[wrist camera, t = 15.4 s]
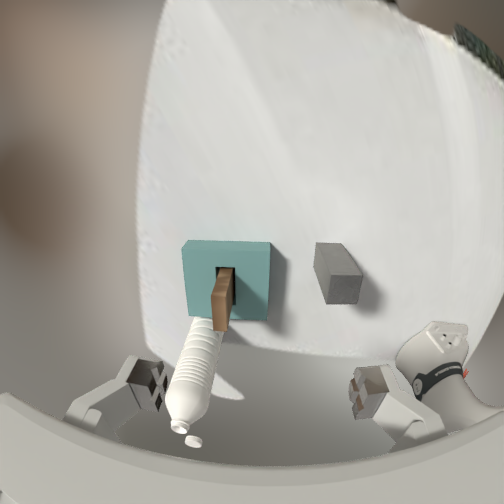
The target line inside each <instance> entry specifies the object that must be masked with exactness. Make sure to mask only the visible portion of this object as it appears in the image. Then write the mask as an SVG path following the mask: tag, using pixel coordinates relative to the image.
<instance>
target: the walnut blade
mask: <svg viewBox="0 0 504 504" xmlns="http://www.w3.org/2000/svg"><path fill="white" fill-rule="evenodd" d="M234 295H235V267H221V268H220V271H219V274H218V277H217V279H216V282H215V285H214V288H213V291H212V294H211V308H212V321H213V331H222V332H227V329H228V324H229V319H230V314H231V309H232V304H233V300H234Z"/></svg>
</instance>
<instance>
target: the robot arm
mask: <svg viewBox="0 0 504 504" xmlns="http://www.w3.org/2000/svg"><path fill="white" fill-rule="evenodd" d="M467 334H468V327H467V326H466V325H460V324H452V323H443V322H435V321H434V322H431V323H430V324H429V325H428V326H427V327H426V328H425V329H424V330H423V331H422V332H420V333H419V334H417V335H415V336H414V337H413V338H411V339H410V340H409V341H408V342H407V343H406V344H405V345H404V346H403V347H402V348H401V350H400V351H399V353H398V355H397V358H396V367H397V369H398V370H399V371H400V372H401V373H402V374H403V375H404V376H405V378H406V379H407V380H408V382H409V383H410V385H411V386H412V388H413V391H414V394H415V397H416V398H414V397H413V396H411V395H410V394H408V393H407V392H406V391H404V390H400V388H399V385H398V383H397V381H396V378H395V376H394V374H393V372H392V370H391V368H390V366H389V365H388V364H387V365H378V366H368V367H359V368H356V369H355V371H354V373H353V374H354V378H353V379H352V380H351V381H350V384H349V391H348V392H349V398H350V401H352V402H353V403H354V405H353V407H352V411H353V415H354V419H355V420H357V419H365V418H373V420H374V421H375V422H376V423H377V424H378V425H379V426H380V427H382V428H383V430H384V431H385V432H386V433H387V434H388V435H389V436H390V437H391V438H392V439H393V440H394V441H395V442H396V444H395V445H394V446H393V447H392V448H391V449H390V451H389V452H388V454H384V455H380V456H375V457H370V458H364V459H359V460H352V461H346V462H338V463H329V464H319V465H306V466H281V467H280V466H279V467H278V466H275V467H274V466H244V465H230V464H220V463H210V462H203V461H196V460H190V459H184V458H179V457H174V456H169V455H164V454H159V453H155V452H151V451H147V450H143V449H139V448H136V447H132V446H128V445H126V444H122V443H121V441H120V439H119V438H118V436H117V435H116V434H115V432H114V431H115V430H117V429H118V428H119V427H120V426H122V425H123V424H124V423H125V422H126V421H128V420H129V419H130V418H131V417H133V416H134V415H135V414H136V413H137V412H139V411H140V410H141V409H144V410H150V411H154V412H159V409H160V406H161V403H162V398H161V396H162V395H163V394H165V392H166V389H167V383H168V381H167V375H166V373H165V372H164V371H163V369H164V364H163V361H159V360H153V359H148V358H143V357H137V356H133V355H130V356H128V357H127V359H126V361H125V363H124V364H123V366H122V368H121V370H120V372H119V374H118V375H117V377H116V379H115V380H113V379H112V380H110V381H108V382H106V383H105V384H103V385H101V386H100V387H98V388H96V389H94V390H92V391H90V392H89V393H87V394H85V395H83V396H81V397H80V398H78V399H76V400H74V401H73V403H72V405H71V406H70V408H69V409H68V411H67V413H66V415H65V417H64V418H63V420H60V419H58V418H56V417H54V416H52V415H50V414H48V413H46V412H44V411H42V410H40V409H38V408H37V407H35V406H33V405H31V404H30V403H28V402H26V401H24V400H23V399H21V398H19V397H18V396H16V395H14V394H12V393H9V392H7V393H3V394H1V395H0V504H504V406H491V405H487V404H485V403H483V402H481V401H480V400H479V399H478V398H477V397H476V396H475V395H474V394H473V392H472V391H471V390H470V388H469V387H468V385H467V383H466V382H465V380H464V378H465V377H466V375H467V373H468V372H467V373H466V371H467V369H466V370H465V371H464V373H463V370H462V366H463V363H464V361H465V359H466V356H467V354H468V350H469V346H468V343H467V341H466V338H467ZM465 373H466V374H465ZM458 430H460V431H458ZM454 431H458V432H455V433H453V434H450V435H448V434H447V433H450V432H454Z"/></svg>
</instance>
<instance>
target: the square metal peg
mask: <svg viewBox="0 0 504 504" xmlns="http://www.w3.org/2000/svg"><path fill="white" fill-rule="evenodd" d="M313 267H314V270H315V273H316V276H317V279H318V281H319V284H320V287H321V290H322V293H323V296H324V299H325V302H326V304H357V301H358V296H359V292H360V287H361V283H362V278H363V275H362V273H361V272H360V270H359V269H358V267H357V266H356V264H355V263H354V261H353V260H352V258H351V257H350V255H349V254H348V252H347V251H346V250H345V248H344V247H343V245H342V244H341V243H316V247H315V257H314V266H313Z"/></svg>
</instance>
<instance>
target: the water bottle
mask: <svg viewBox="0 0 504 504" xmlns="http://www.w3.org/2000/svg"><path fill="white" fill-rule="evenodd" d="M223 335H224V332H222V331H213V321H212V318H210V317H195V318H194V320H193V323H192V325H191V328H190V331H189V334H188V336H187V339H186V341H185V344H184V347H183V349H182V352H181V355H180V357H179V360H178V364H177V366H176V369H175V372H174V374H173V377H172V380H171V383H170V386H169V388H168V390H167V393H166V397H165V403H166V407H167V409H168V411H169V414H170V416H171V418H172V421H171V429H172V430H173V431H175V432H177V433H181V434H184V433H187V431H188V429H189V428H190V426H189V425H190V424H192V423H193V422H195V421H196V420H198V419H199V418H201V417H202V416H203V415H204V414H205V413H206V411H207V409H208V405H209V399H210V394H211V389H212V385H213V380H214V375H215V371H216V367H217V362H218V357H219V353H220V348H221V343H222V339H223ZM187 437H188V438H187ZM187 437H186V440H185V443H186V444H187V445H188V446H191V447H195V448H198V447H201V445H202V439H200V438H198V437H196V436H187ZM192 437H194V438H192ZM196 438H197V439H196Z"/></svg>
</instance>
